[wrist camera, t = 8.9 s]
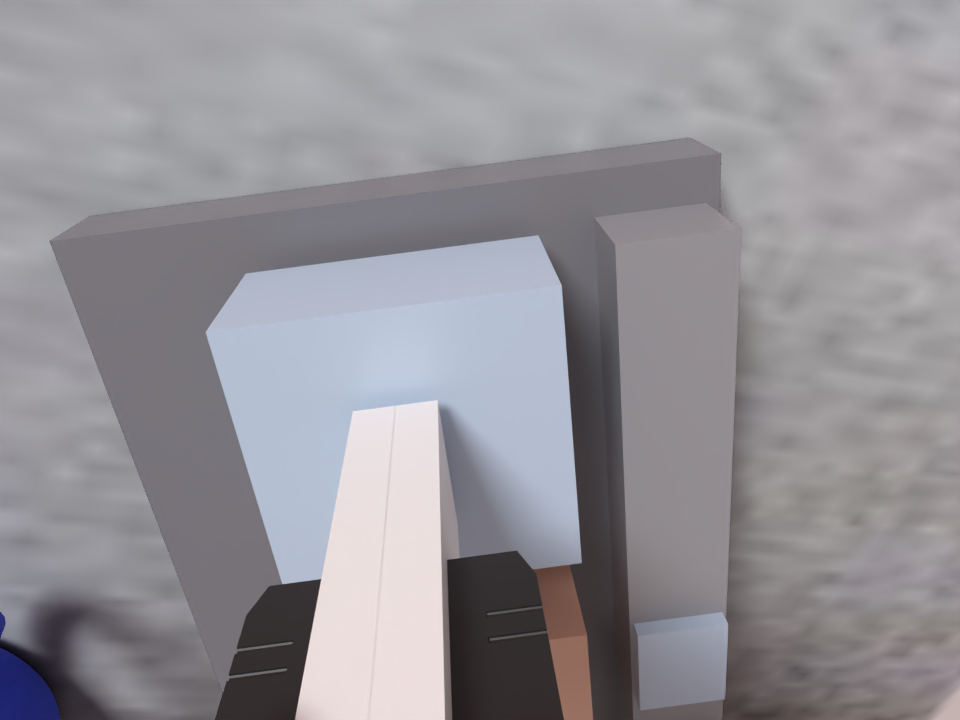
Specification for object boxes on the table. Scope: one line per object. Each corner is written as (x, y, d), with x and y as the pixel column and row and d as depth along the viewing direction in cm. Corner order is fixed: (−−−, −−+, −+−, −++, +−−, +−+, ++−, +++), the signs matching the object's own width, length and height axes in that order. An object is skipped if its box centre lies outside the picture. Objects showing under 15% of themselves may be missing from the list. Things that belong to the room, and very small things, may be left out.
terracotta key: (370, 735, 21) (360, 842, 18) (327, 574, 19) (309, 672, 16) (578, 708, 21) (599, 810, 18) (564, 543, 19) (586, 634, 16)
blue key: (309, 510, 18) (287, 601, 15) (245, 273, 15) (205, 331, 12) (558, 477, 18) (581, 563, 15) (538, 235, 15) (561, 285, 12)
